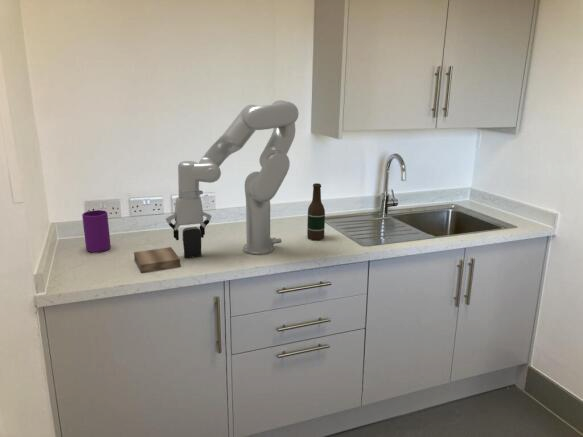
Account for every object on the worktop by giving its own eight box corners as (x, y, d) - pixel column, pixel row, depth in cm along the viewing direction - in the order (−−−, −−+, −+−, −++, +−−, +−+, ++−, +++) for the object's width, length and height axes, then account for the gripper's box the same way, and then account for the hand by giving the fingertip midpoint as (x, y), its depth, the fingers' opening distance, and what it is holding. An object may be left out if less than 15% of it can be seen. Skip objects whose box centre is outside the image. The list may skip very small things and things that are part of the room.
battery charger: (200, 253, 194) (199, 225, 191) (202, 256, 190) (201, 228, 187) (182, 255, 192) (181, 227, 188) (184, 258, 188) (182, 230, 185)
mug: (87, 254, 191) (82, 217, 187) (84, 242, 205) (80, 207, 200) (112, 251, 195) (108, 214, 191) (107, 239, 208) (104, 205, 204)
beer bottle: (304, 239, 211) (305, 184, 204) (310, 234, 218) (311, 181, 211) (321, 242, 208) (322, 186, 202) (326, 236, 215) (328, 183, 208)
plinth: (171, 254, 192) (171, 247, 192) (180, 266, 180) (179, 259, 180) (134, 259, 186) (133, 252, 186) (141, 272, 174) (140, 265, 174)
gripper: (208, 191, 191) (208, 233, 196) (163, 193, 183) (164, 237, 188) (214, 195, 185) (214, 238, 189) (167, 198, 177) (168, 243, 182)
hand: (189, 238), depth 189 cm, fingers open, 9 cm apart
